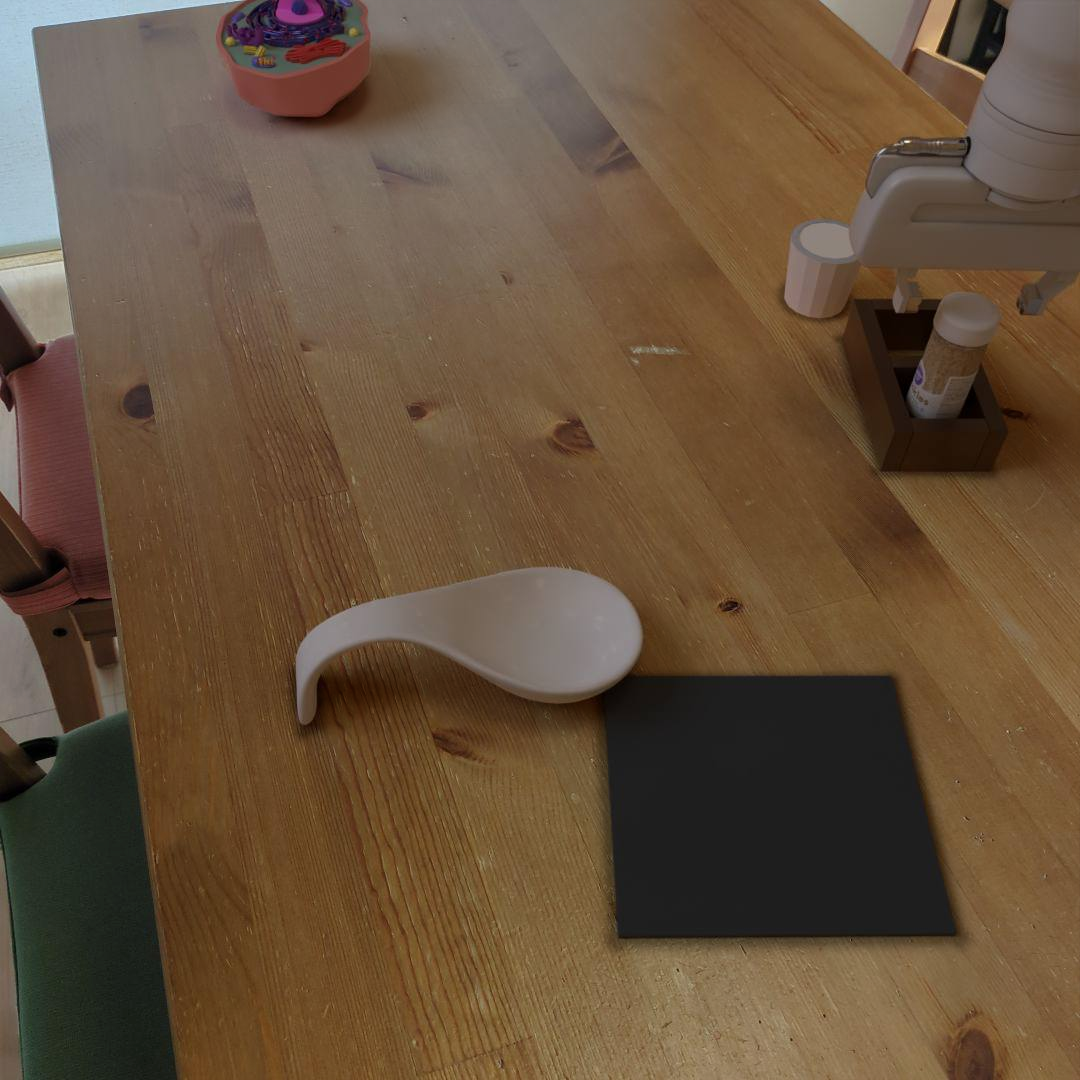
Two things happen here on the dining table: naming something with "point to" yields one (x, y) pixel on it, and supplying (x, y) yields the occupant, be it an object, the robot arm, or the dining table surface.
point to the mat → (768, 810)
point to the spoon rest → (496, 633)
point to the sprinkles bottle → (952, 355)
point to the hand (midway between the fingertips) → (965, 309)
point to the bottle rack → (888, 383)
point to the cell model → (295, 53)
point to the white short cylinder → (820, 268)
